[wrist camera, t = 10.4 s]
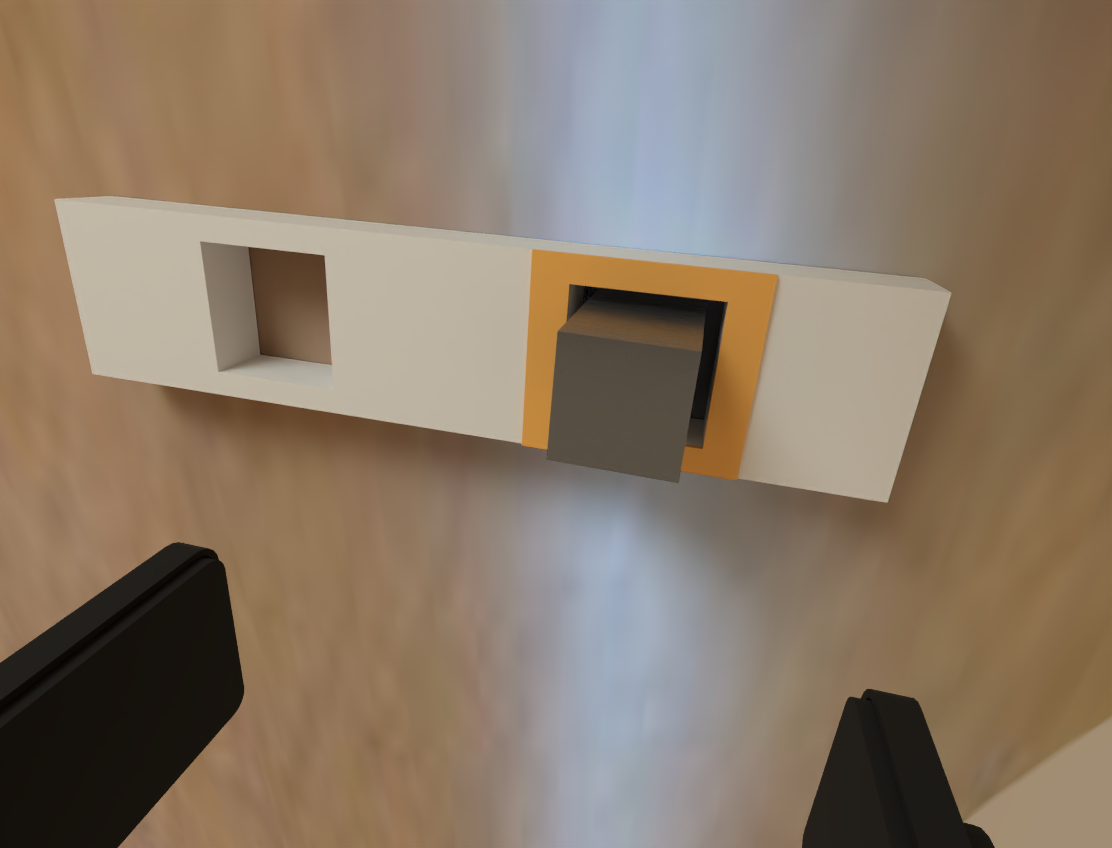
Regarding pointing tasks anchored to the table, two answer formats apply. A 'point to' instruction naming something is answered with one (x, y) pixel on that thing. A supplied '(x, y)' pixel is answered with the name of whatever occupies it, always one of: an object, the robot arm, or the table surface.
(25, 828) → the robot arm
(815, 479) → the rail
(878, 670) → the table surface
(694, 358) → the steel block
